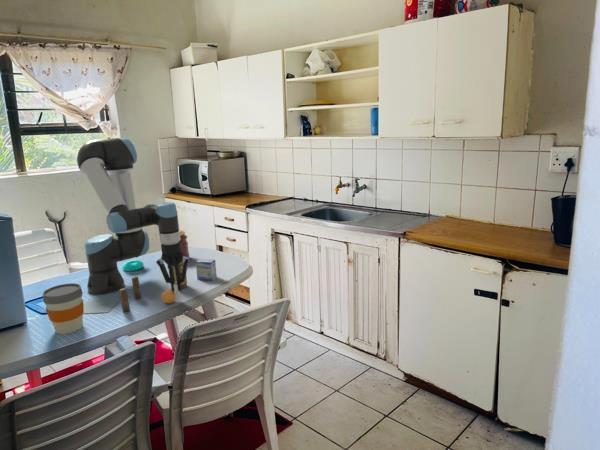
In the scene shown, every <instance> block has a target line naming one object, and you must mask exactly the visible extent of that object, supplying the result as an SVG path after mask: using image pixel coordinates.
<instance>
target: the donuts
mask: <svg viewBox="0 0 600 450" xmlns="http://www.w3.org/2000/svg"><path fill="white" fill-rule="evenodd" d="M143 267H144V262H143V261H142V260H139V259H132V260H131V259H130V260H129V261H126V262H124V263H122V270H124V271H125V272H133V271H138V270H141V269H142V268H143Z"/></svg>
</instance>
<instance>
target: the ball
mask: <svg viewBox="0 0 600 450" xmlns="http://www.w3.org/2000/svg"><path fill="white" fill-rule="evenodd" d="M161 300H162V301H163V302H164V303H165V304H172V303H174V302H175V300H176V299H175V292H174V291H172V289H166V290H164V291H163V292H162V294H161Z"/></svg>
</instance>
